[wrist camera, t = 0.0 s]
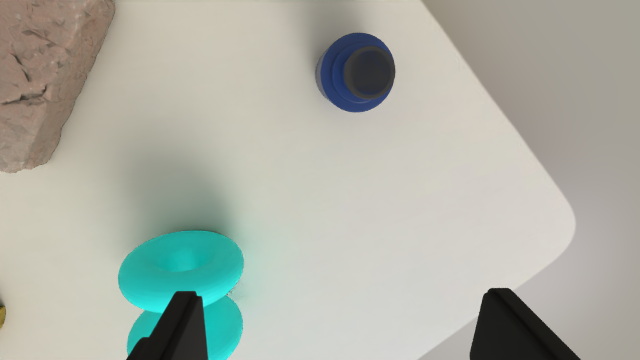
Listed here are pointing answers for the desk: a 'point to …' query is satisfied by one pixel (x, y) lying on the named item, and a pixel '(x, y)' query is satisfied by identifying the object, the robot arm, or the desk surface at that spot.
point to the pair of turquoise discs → (186, 284)
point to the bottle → (356, 72)
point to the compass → (2, 315)
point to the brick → (44, 71)
